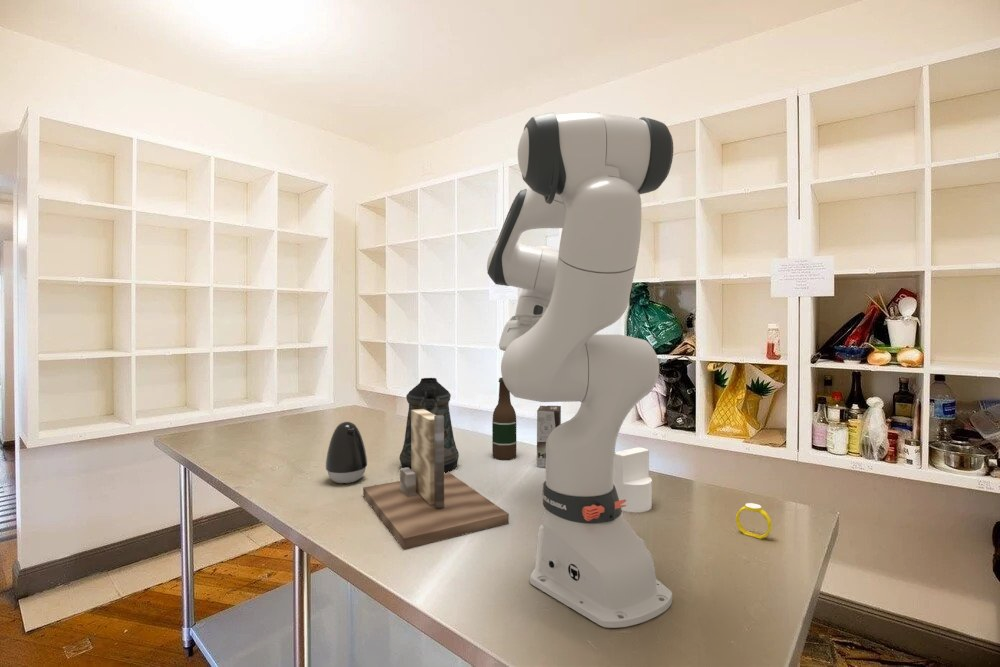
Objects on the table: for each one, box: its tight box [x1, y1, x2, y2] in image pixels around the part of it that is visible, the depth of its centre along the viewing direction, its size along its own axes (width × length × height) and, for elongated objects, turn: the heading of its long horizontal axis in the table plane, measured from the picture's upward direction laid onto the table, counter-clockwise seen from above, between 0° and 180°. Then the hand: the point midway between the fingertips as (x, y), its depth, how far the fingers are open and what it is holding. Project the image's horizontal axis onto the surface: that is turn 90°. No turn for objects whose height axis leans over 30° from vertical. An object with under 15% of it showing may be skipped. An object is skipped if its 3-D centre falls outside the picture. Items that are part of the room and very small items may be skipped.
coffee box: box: [536, 405, 562, 468], centre depth 136 cm, size 9×6×16 cm
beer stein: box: [399, 377, 460, 473], centre depth 132 cm, size 16×19×25 cm
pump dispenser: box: [325, 421, 368, 484], centre depth 122 cm, size 10×10×15 cm
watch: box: [735, 502, 773, 540], centre depth 91 cm, size 6×3×6 cm, turn 49°
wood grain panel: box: [411, 409, 444, 508], centre depth 105 cm, size 16×3×19 cm, turn 28°
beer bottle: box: [491, 377, 517, 461], centre depth 143 cm, size 8×8×24 cm
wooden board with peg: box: [362, 467, 510, 550], centre depth 104 cm, size 30×22×7 cm
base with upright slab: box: [613, 446, 653, 513], centre depth 106 cm, size 9×9×12 cm
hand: (522, 370), depth 110 cm, fingers closed
